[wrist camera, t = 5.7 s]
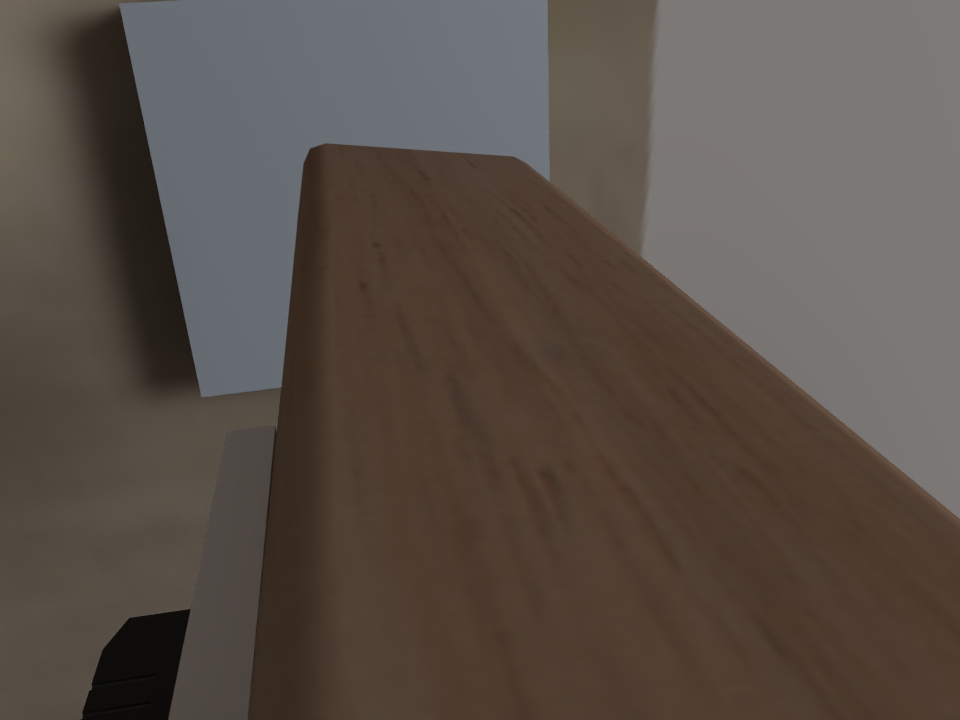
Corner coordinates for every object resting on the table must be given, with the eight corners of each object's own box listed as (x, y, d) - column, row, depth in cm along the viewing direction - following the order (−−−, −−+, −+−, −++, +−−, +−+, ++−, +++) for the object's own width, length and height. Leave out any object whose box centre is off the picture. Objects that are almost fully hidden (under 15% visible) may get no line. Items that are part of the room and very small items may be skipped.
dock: (209, 369, 35) (200, 401, 32) (134, 1, 29) (117, 1, 26) (537, 330, 37) (555, 357, 34) (530, -19, 31) (551, -21, 28)
